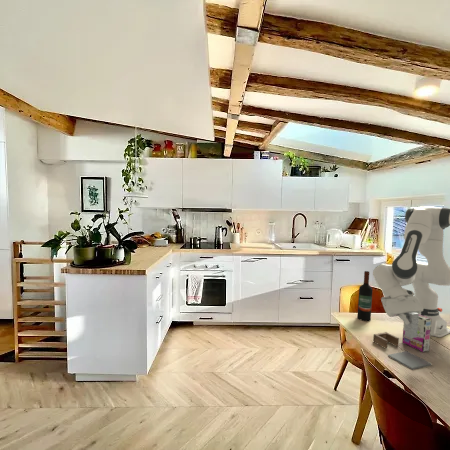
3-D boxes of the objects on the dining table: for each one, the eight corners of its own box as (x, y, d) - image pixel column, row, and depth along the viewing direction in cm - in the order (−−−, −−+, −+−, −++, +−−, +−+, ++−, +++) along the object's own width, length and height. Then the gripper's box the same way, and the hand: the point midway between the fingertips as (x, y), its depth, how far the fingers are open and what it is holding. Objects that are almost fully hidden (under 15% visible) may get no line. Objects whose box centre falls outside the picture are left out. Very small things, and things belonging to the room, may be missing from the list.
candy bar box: (429, 351, 148) (432, 318, 147) (423, 352, 146) (425, 319, 145) (408, 341, 158) (410, 310, 157) (401, 342, 156) (403, 311, 155)
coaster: (406, 352, 146) (406, 350, 146) (431, 365, 134) (431, 363, 134) (388, 356, 141) (388, 354, 141) (412, 369, 130) (412, 368, 130)
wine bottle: (371, 318, 189) (374, 271, 187) (369, 322, 183) (372, 273, 180) (358, 315, 193) (361, 269, 191) (356, 319, 187) (359, 271, 184)
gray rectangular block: (410, 334, 139) (412, 311, 138) (416, 337, 136) (418, 313, 136) (404, 335, 138) (406, 312, 137) (410, 338, 135) (412, 314, 134)
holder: (385, 339, 159) (386, 332, 159) (398, 345, 152) (398, 338, 152) (373, 341, 156) (373, 334, 156) (385, 348, 149) (385, 340, 149)
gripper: (383, 294, 138) (401, 322, 130) (415, 291, 146) (433, 318, 137) (375, 300, 143) (391, 328, 134) (406, 297, 150) (423, 323, 142)
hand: (413, 323), depth 136 cm, fingers closed on gray rectangular block, 4 cm apart
